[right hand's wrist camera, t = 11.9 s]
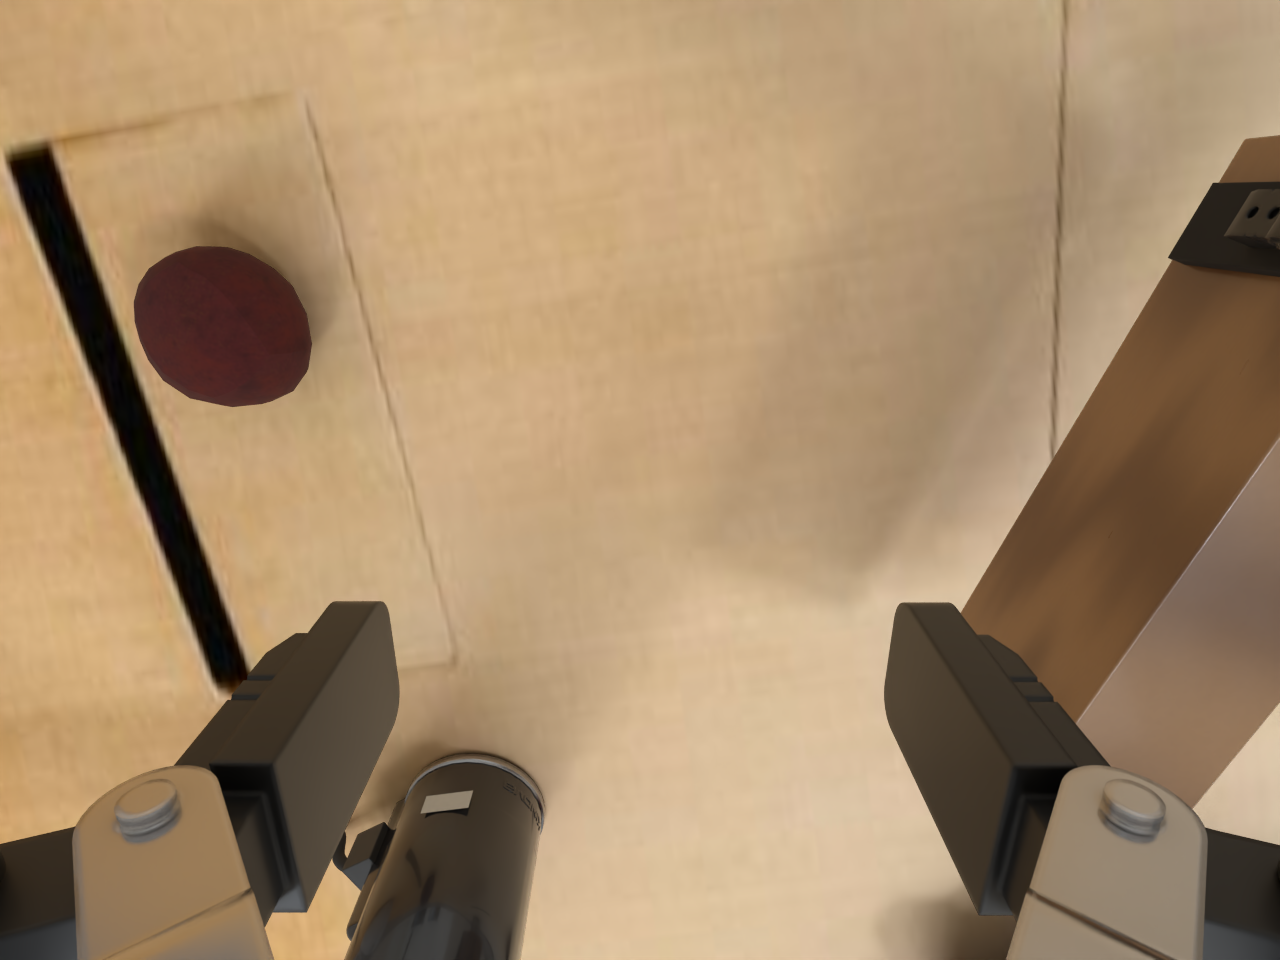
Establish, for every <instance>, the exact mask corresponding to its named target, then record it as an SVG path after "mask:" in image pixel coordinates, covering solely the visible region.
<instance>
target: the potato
mask: <svg viewBox="0 0 1280 960" xmlns="http://www.w3.org/2000/svg"><path fill="white" fill-rule="evenodd" d="M134 315H135V324H136V328H137V332H138V335H139V339H140V342H141V344H142V347H143V349H144V351H145V353H146V356H147V358H148V360H149V362H150V363H151V364H152V366H153V367H154V368H155V370H156V371H157V373H158V374H159V375H160V377H161V378H162V379H163V381H165V382H166V383H168V384H169V385H171V386H172V387H174V388H175V389H177V390H178V391H180V392H181V393H183V394H184V395H186V396H187V397H189V398H191V399H196V400H200V401H205V402H210V403H214V404H219V405H224V406H230V407H237V406H246V405H256V404H263V403H267V402H270V401H273V400H275V399H277V398H279V397H281V396H284V395H286V394H288V393H290V392H292V391H294V389H295V388H296V386H297V385H298V383H299V382H300V381H301V379H302V378H303V376H304V375H305V374H306V372H307V370H308V367H309V360H310V353H311V346H312V342H311V336H310V330H309V325H308V319H307V314H306V312H305V310H304V308H303V306H302V304H301V302H300V300H299V298H298V296H297V294H296V292H295V290H294V288H293V286H292V285H291V284H290V283H289V282H288V281H287V280H286V279H284V278H283V277H282V276H281V275H280V274H279V273H278V272H277V271H276V270H275V269H274V268H272V267H270V266H268V265H267V264H265V263H263V262H262V261H260V260H258V259H257V258H255V257H253V256H252V255H250V254H247V253H244V252H241V251H238V250H235V249H231V248H228V247H200V246H196V247H192V248H189V249H185V250H182V251H178V252H175V253H173V254H171V255H169V256H167V257H165V258H164V259H162V260H161V261H159V262H158V263H156V264H155V265H154V266H152V267H151V268H149V270H148V271H147V273H146V274H145V276H144V277H143V279H142V280H141V282H140V283H139V285H138V289H137V292H136V296H135V300H134Z"/></svg>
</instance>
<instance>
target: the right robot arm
mask: <svg viewBox="0 0 1280 960" xmlns="http://www.w3.org/2000/svg"><path fill="white" fill-rule="evenodd" d="M884 701H885V710H886V715H887V719H888V723H889V726H890V728H891V730H892V732H893V734H894V737H895V739H896V741H897V743H898V745H899V747H900V749H901V751H902V754H903V756H904V758H905V760H906V762H907V764H908V766H909V768H910V770H911V773H912V775H913V777H914V779H915V781H916V783H917V785H918V787H919V790H920V792H921V794H922V796H923V798H924V800H925V802H926V804H927V807H928V809H929V811H930V813H931V815H932V817H933V819H934V821H935V824H936V826H937V828H938V830H939V832H940V834H941V836H942V838H943V840H944V843H945V845H946V847H947V849H948V851H949V853H950V855H951V857H952V860H953V862H954V864H955V866H956V868H957V870H958V872H959V874H960V877H961V879H962V881H963V883H964V885H965V887H966V889H967V891H968V893H969V896H970V898H971V900H972V902H973V904H974V906H975V908H976V910H977V913H978V915H1013V916H1014V918H1015V919H1016V921H1017V925H1016V928H1015V931H1014V934H1013V938H1012V941H1011V944H1010V948H1009V951H1008V954H1007V958H1006V960H1280V845H1276V844H1272V843H1268V842H1263V841H1259V840H1255V839H1250V838H1246V837H1242V836H1237V835H1233V834H1229V833H1224V832H1220V831H1216V830H1212V829H1208V828H1205V827H1204V825H1203V823H1202V821H1201V820H1200V818H1199V817H1198V815H1197V814H1196V813H1195V812H1194V811H1193V810H1192V808H1191V807H1190V806H1189V805H1187V804H1186V803H1185V802H1184V801H1183V800H1182V799H1181V798H1179V797H1178V796H1177V795H1175V794H1174V793H1173V792H1171V791H1170V790H1168V789H1167V788H1165V787H1163V786H1162V785H1160V784H1158V783H1156V782H1154V781H1152V780H1151V779H1148V778H1146V777H1144V776H1141V775H1139V774H1136V773H1133V772H1130V771H1127V770H1124V769H1120V768H1116V767H1111V766H1110V765H1109V763H1108V762H1107V761H1106V760H1105V759H1104V757H1103V756H1102V755H1101V754H1100V752H1099V751H1098V750H1097V749H1096V748H1095V746H1094V745H1093V744H1092V743H1091V742H1090V740H1089V739H1088V738H1087V737H1086V736H1085V734H1084V733H1083V732H1082V731H1081V730H1080V728H1079V727H1078V726H1077V725H1076V723H1075V722H1074V721H1073V720H1072V719H1071V717H1070V716H1069V715H1068V714H1067V713H1066V711H1065V710H1064V709H1063V708H1062V707H1061V705H1060V704H1059V703H1058V702H1054V700H1053V696H1052V694H1051V693H1050V692H1049V691H1048V690H1047V688H1046V687H1045V686H1044V685H1043V684H1042V682H1038V680H1037V676H1036V675H1035V674H1034V673H1033V671H1032V670H1031V669H1030V668H1029V667H1028V665H1027V664H1026V663H1025V662H1024V661H1023V659H1022V658H1021V657H1020V656H1019V655H1018V654H1017V653H1015V652H1014V651H1012V650H1011V649H1009V648H1008V647H1006V646H1005V645H1003V644H1002V643H1000V642H999V641H997V640H996V639H994V638H993V637H991V636H990V635H977V634H976V633H975V632H974V630H973V629H972V628H971V626H970V625H969V624H968V622H967V621H966V620H965V619H964V617H963V616H962V615H961V613H960V612H959V611H958V609H957V608H956V607H955V606H954V605H953V604H951V603H901V604H899V606H898V607H897V609H896V613H895V617H894V624H893V630H892V637H891V644H890V651H889V658H888V665H887V672H886V679H885V687H884ZM398 706H399V680H398V673H397V666H396V659H395V652H394V645H393V638H392V631H391V624H390V617H389V612H388V609H387V606H386V605H385V603H384V602H381V601H335V602H332V603H331V604H330V605H329V606H328V607H327V608H326V610H325V611H324V612H323V614H322V615H321V616H320V618H319V619H318V620H317V622H316V623H315V624H314V626H313V627H312V628H311V630H310V631H309V632H308V633H296V634H294V635H293V636H291V637H290V638H288V639H286V640H285V641H283V642H282V643H280V644H279V645H277V646H276V647H274V648H273V649H271V650H270V651H268V652H267V653H266V654H265V655H264V656H263V657H262V659H261V660H260V661H259V662H258V664H257V665H256V666H255V667H254V668H253V670H252V671H251V672H250V673H249V675H248V676H247V681H243V682H242V683H241V684H240V686H239V687H238V688H237V689H236V690H235V692H234V693H233V694H232V699H231V700H227V701H226V703H225V704H224V705H223V706H222V708H221V709H220V710H219V711H218V712H217V714H216V715H215V716H214V717H213V718H212V720H211V721H210V722H209V723H208V725H207V726H206V727H205V728H204V729H203V731H202V732H201V733H200V734H199V736H198V737H197V738H196V739H195V740H194V742H193V743H192V744H191V745H190V747H189V748H188V749H187V750H186V751H185V753H184V754H183V755H182V756H181V758H180V759H179V760H178V761H177V762H176V764H175V765H174V766H170V767H164V768H160V769H156V770H153V771H150V772H147V773H144V774H141V775H139V776H136V777H134V778H132V779H129V780H128V781H126V782H124V783H122V784H120V785H118V786H117V787H115V788H113V789H112V790H110V791H109V792H107V793H106V794H105V795H103V796H102V797H101V798H99V799H98V800H97V801H96V802H95V803H94V804H93V805H91V806H90V807H89V808H88V810H87V811H86V812H85V813H84V814H83V815H82V817H81V818H80V820H79V821H78V823H77V825H76V827H72V828H68V829H64V830H59V831H55V832H51V833H46V834H42V835H38V836H33V837H29V838H25V839H20V840H16V841H12V842H7V843H3V844H0V960H274V958H273V954H272V951H271V948H270V944H269V941H268V938H267V934H266V931H265V926H266V924H267V922H268V920H269V918H270V916H271V914H272V912H307V911H308V908H309V906H310V904H311V902H312V900H313V898H314V896H315V893H316V891H317V889H318V887H319V885H320V883H321V881H322V878H323V876H324V874H325V872H326V870H327V868H328V866H329V863H330V861H331V859H333V863H334V864H335V866H336V867H337V868H338V869H339V870H340V871H342V872H343V873H344V874H345V875H346V876H347V877H348V878H349V879H350V880H351V881H352V882H353V883H354V884H355V885H356V886H357V887H358V888H359V889H360V890H361V893H360V895H359V898H358V900H357V903H356V905H355V908H354V910H353V913H352V915H351V918H350V920H349V923H348V925H347V936H348V938H349V939H350V941H351V943H350V946H349V949H348V951H347V954H346V956H345V959H344V960H521V953H522V947H523V940H524V934H525V928H526V921H527V915H528V908H529V902H530V896H531V889H532V883H533V877H534V870H535V864H536V858H537V851H538V845H539V838H540V834H541V832H542V828H543V823H544V816H545V806H544V801H543V797H542V795H541V792H540V790H539V789H538V787H537V785H536V784H535V783H534V781H533V780H532V779H531V778H530V777H529V776H528V775H527V774H526V773H525V772H523V771H522V770H521V769H519V768H518V767H516V766H515V765H513V764H511V763H509V762H507V761H505V760H502V759H499V758H496V757H493V756H488V755H482V754H458V755H452V756H448V757H445V758H442V759H439V760H437V761H435V762H433V763H431V764H430V765H428V766H427V767H425V768H424V769H423V770H422V771H420V773H419V774H418V775H417V776H416V777H415V778H414V780H413V782H412V783H411V785H410V788H409V790H408V793H407V795H406V798H405V799H403V800H401V801H399V802H397V803H396V806H395V808H394V811H393V813H392V816H391V818H390V821H389V823H388V826H387V825H386V823H385V822H383V823H381V824H379V825H377V826H374V827H372V828H370V829H368V830H366V831H364V832H362V833H360V834H358V835H357V838H356V840H355V842H354V844H353V847H352V849H351V851H350V853H349V856H348V858H347V857H346V856H345V844H346V833H345V829H346V827H347V825H348V823H349V820H350V818H351V816H352V814H353V812H354V810H355V808H356V805H357V803H358V801H359V799H360V797H361V795H362V793H363V790H364V788H365V786H366V784H367V782H368V780H369V778H370V775H371V773H372V771H373V769H374V767H375V765H376V763H377V760H378V758H379V756H380V754H381V752H382V750H383V747H384V745H385V743H386V741H387V739H388V737H389V735H390V732H391V730H392V728H393V726H394V723H395V720H396V716H397V712H398Z"/></svg>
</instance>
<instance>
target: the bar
mask: <svg viewBox="0 0 1280 960" xmlns="http://www.w3.org/2000/svg"><path fill="white" fill-rule="evenodd" d="M1234 182H1280V135H1278V136H1268V137H1259V138H1249V139H1245V140H1244V142H1243V143H1242V145H1241V147H1240V148H1239V150H1238V152H1237V153H1236V155H1235V157H1234V158H1233V160H1232V162H1231V163H1230V165H1229V167H1228V168H1227V170H1226V172H1225V173H1224V175H1223V177H1222V178H1221V180H1220V182H1219V183H1234ZM961 615H962V616H963V617H964V619H965V620H966V621H967V622H968V624H969V625H970V626H971V628H972V629H973V630H974V632H975V633H976V634H977V635H990V636H991V637H993V638H994V639H996V640H997V641H999V642H1000V643H1002V644H1003V645H1005V646H1006V647H1008V648H1009V649H1011V650H1012V651H1014V652H1015V653H1017V654H1018V655H1019V656H1020V657H1021V658H1022V659H1023V661H1024V662H1025V663H1026V664H1027V665H1028V667H1029V668H1030V669H1031V670H1032V671H1033V673H1034V674H1035V675H1036V676H1037V680H1038V682H1042V684H1043V685H1044V686H1045V687H1046V688H1047V690H1048V691H1049V692H1050V693H1051V694H1052V696H1053V700H1054V702H1058V703H1059V704H1060V705H1061V707H1062V708H1063V709H1064V710H1065V711H1066V713H1067V714H1068V715H1069V716H1070V717H1071V719H1072V720H1073V721H1074V722H1075V723H1076V725H1077V726H1078V727H1079V728H1080V730H1081V731H1082V732H1083V733H1084V734H1085V736H1086V737H1087V738H1088V739H1089V740H1090V742H1091V743H1092V744H1093V745H1094V746H1095V748H1096V749H1097V750H1098V751H1099V752H1100V754H1101V755H1102V756H1103V757H1104V759H1105V760H1106V761H1107V762H1108V763H1109V765H1110V766H1111V767H1116V768H1120V769H1124V770H1127V771H1130V772H1133V773H1136V774H1139V775H1141V776H1144V777H1146V778H1148V779H1151V780H1152V781H1154V782H1156V783H1158V784H1160V785H1162V786H1163V787H1165V788H1167V789H1168V790H1170V791H1171V792H1173V793H1174V794H1175V795H1177V796H1178V797H1179V798H1181V799H1182V800H1183V801H1184V802H1185V803H1186V804H1187V805H1189V806H1190V807H1191V808H1192V809H1193V808H1194V806H1195V805H1196V804H1197V803H1198V802H1199V800H1200V799H1201V798H1202V797H1203V795H1204V794H1205V793H1206V792H1207V791H1208V789H1209V788H1210V787H1211V786H1212V785H1213V783H1214V782H1215V781H1216V780H1217V778H1218V777H1219V776H1220V775H1221V774H1222V772H1223V771H1224V770H1225V769H1226V767H1227V766H1228V765H1229V764H1230V763H1231V761H1232V760H1233V759H1234V758H1235V757H1236V755H1237V754H1238V753H1239V752H1240V750H1241V749H1242V748H1243V747H1244V746H1245V744H1246V743H1247V742H1248V741H1249V739H1250V738H1251V737H1252V736H1253V735H1254V733H1255V732H1256V731H1257V730H1258V729H1259V727H1260V726H1261V725H1262V724H1263V722H1264V721H1265V720H1266V719H1267V718H1268V716H1269V715H1270V714H1271V713H1272V711H1273V710H1274V709H1275V708H1276V707H1277V705H1278V704H1279V703H1280V277H1276V276H1268V275H1260V274H1253V273H1245V272H1237V271H1230V270H1222V269H1214V268H1206V267H1199V266H1191V265H1184V264H1182V263H1179V262H1177V261H1174V260H1172V262H1171V263H1170V265H1169V267H1168V268H1167V270H1166V272H1165V273H1164V275H1163V277H1162V278H1161V280H1160V282H1159V283H1158V285H1157V287H1156V288H1155V290H1154V292H1153V293H1152V295H1151V297H1150V298H1149V300H1148V302H1147V303H1146V305H1145V307H1144V308H1143V310H1142V312H1141V313H1140V315H1139V317H1138V318H1137V320H1136V322H1135V323H1134V325H1133V327H1132V328H1131V330H1130V332H1129V333H1128V335H1127V337H1126V338H1125V340H1124V342H1123V343H1122V345H1121V347H1120V348H1119V350H1118V352H1117V353H1116V355H1115V357H1114V358H1113V360H1112V362H1111V363H1110V365H1109V367H1108V368H1107V370H1106V372H1105V373H1104V375H1103V377H1102V378H1101V380H1100V382H1099V383H1098V385H1097V387H1096V388H1095V390H1094V392H1093V393H1092V395H1091V397H1090V398H1089V400H1088V402H1087V403H1086V405H1085V407H1084V408H1083V410H1082V412H1081V413H1080V415H1079V417H1078V418H1077V420H1076V422H1075V423H1074V425H1073V427H1072V428H1071V430H1070V432H1069V433H1068V435H1067V437H1066V438H1065V440H1064V442H1063V443H1062V445H1061V447H1060V448H1059V450H1058V452H1057V453H1056V455H1055V457H1054V458H1053V460H1052V462H1051V463H1050V465H1049V467H1048V468H1047V470H1046V472H1045V473H1044V475H1043V477H1042V478H1041V480H1040V482H1039V483H1038V485H1037V487H1036V488H1035V490H1034V492H1033V493H1032V495H1031V497H1030V498H1029V500H1028V502H1027V503H1026V505H1025V507H1024V508H1023V510H1022V512H1021V513H1020V515H1019V517H1018V518H1017V520H1016V522H1015V523H1014V525H1013V527H1012V528H1011V530H1010V532H1009V533H1008V535H1007V537H1006V538H1005V540H1004V542H1003V543H1002V545H1001V547H1000V548H999V550H998V552H997V553H996V555H995V557H994V558H993V560H992V562H991V563H990V565H989V567H988V568H987V570H986V572H985V573H984V575H983V577H982V578H981V580H980V582H979V583H978V585H977V587H976V588H975V590H974V592H973V593H972V595H971V597H970V598H969V600H968V602H967V603H966V605H965V607H964V608H963V610H962V612H961Z"/></svg>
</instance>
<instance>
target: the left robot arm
mask: <svg viewBox="0 0 1280 960" xmlns="http://www.w3.org/2000/svg"><path fill="white" fill-rule="evenodd" d="M1168 258H1170V259H1172V260H1174V261H1177V262H1179V263H1182V264H1184V265H1191V266H1199V267H1206V268H1214V269H1222V270H1230V271H1237V272H1245V273H1253V274H1260V275H1268V276H1276V277H1280V182H1234V183H1213V184H1212V186H1211V187H1210V189H1209V191H1208V192H1207V194H1206V196H1205V197H1204V199H1203V201H1202V202H1201V204H1200V205H1199V207H1198V209H1197V210H1196V212H1195V214H1194V215H1193V217H1192V219H1191V220H1190V222H1189V224H1188V225H1187V227H1186V229H1185V230H1184V232H1183V234H1182V235H1181V237H1180V239H1179V240H1178V242H1177V244H1176V245H1175V247H1174V249H1173V250H1172V252H1171V253H1170V255H1169V257H1168Z"/></svg>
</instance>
